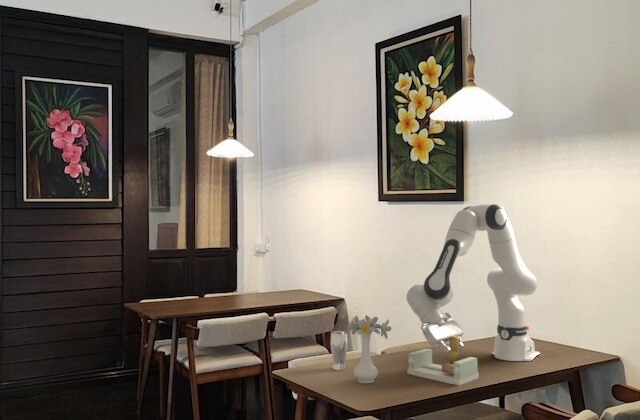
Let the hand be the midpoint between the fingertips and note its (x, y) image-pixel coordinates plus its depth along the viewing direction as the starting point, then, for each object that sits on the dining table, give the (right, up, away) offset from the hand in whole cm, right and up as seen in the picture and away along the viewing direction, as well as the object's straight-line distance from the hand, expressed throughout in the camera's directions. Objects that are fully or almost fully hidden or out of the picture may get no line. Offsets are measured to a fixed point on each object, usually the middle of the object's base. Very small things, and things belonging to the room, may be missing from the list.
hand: (455, 349), depth 251 cm
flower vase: (-35, -12, -2) cm, 37 cm away
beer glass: (-45, -12, +16) cm, 49 cm away
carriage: (0, -8, +1) cm, 8 cm away
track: (-4, -11, +4) cm, 13 cm away
